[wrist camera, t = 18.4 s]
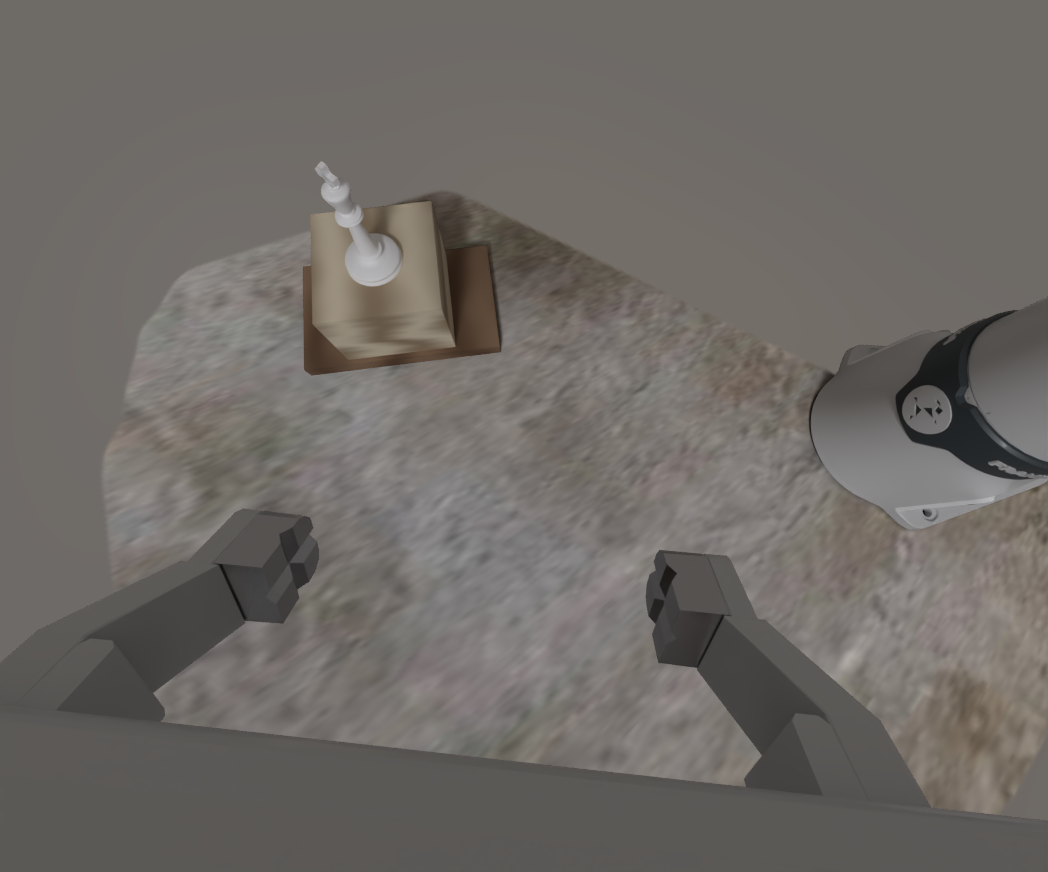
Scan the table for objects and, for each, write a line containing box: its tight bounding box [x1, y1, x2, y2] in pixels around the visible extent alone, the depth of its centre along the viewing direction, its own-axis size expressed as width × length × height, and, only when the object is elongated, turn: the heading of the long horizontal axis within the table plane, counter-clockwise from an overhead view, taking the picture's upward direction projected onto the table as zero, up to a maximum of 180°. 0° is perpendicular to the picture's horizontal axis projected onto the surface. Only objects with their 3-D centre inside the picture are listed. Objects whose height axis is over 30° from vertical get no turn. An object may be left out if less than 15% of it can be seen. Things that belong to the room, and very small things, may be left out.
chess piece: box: [315, 162, 403, 286], centre depth 32 cm, size 5×5×10 cm
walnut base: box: [303, 201, 501, 375], centre depth 42 cm, size 20×12×9 cm, turn 97°
